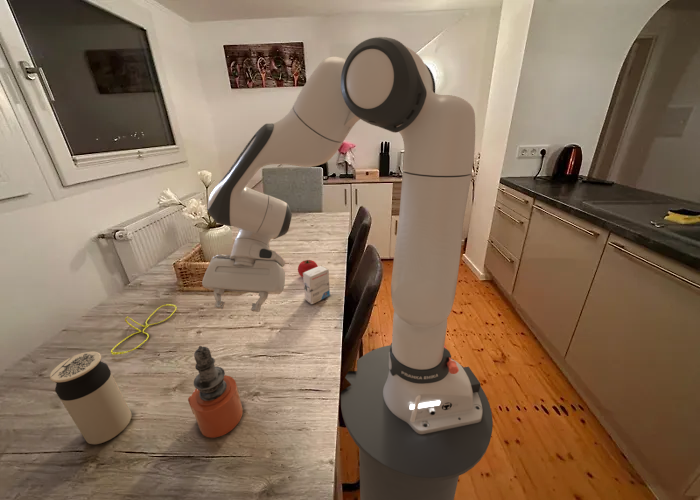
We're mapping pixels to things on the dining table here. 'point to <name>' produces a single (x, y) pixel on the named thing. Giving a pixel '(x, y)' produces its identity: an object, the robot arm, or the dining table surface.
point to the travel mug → (91, 397)
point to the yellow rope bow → (140, 330)
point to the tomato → (306, 266)
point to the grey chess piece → (208, 375)
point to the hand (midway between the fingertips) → (236, 310)
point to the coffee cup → (217, 410)
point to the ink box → (316, 284)
